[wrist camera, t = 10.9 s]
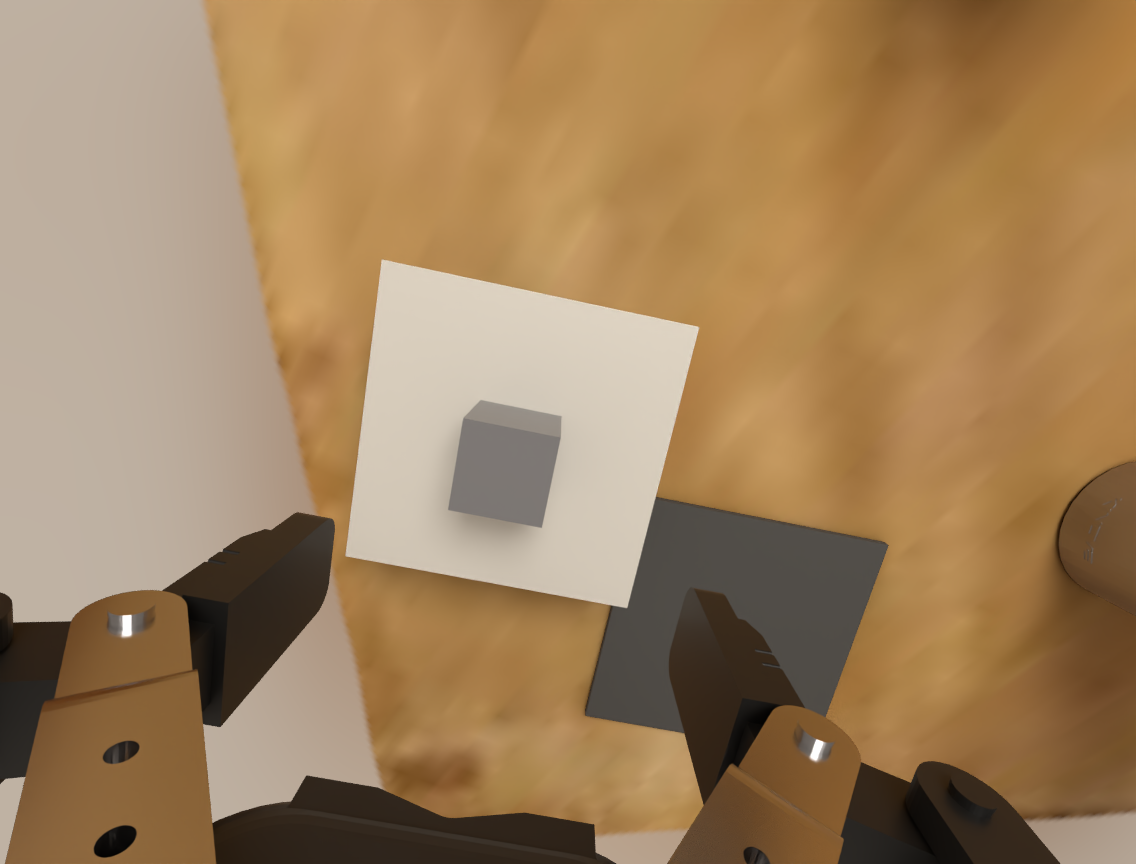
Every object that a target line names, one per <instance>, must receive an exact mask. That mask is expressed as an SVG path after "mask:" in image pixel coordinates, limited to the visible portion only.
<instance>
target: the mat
mask: <svg viewBox="0 0 1136 864" xmlns="http://www.w3.org/2000/svg"><path fill="white" fill-rule="evenodd" d="M888 546H889V545H887V544H886V543H885V542H882V541H876V540H871V539H866V538H861V537H856V536H851V535H846V534H841V533H836V532H831V531H826V530H821V529H816V528H811V527H805V526H800V525H795V524H790V523H785V522H780V521H775V520H770V519H765V518H760V517H755V516H750V515H745V514H739V513H734V512H729V511H724V510H719V509H714V508H709V507H704V506H699V505H694V504H689V503H684V502H679V501H673V500H668V499H663V498H658V497H656V498H655V501H654V505H653V509H652V513H651V517H650V521H649V525H648V529H647V533H646V537H645V540H644V544H643V548H642V552H641V556H640V560H639V564H638V568H637V572H636V576H635V579H634V583H633V587H632V591H631V595H630V599H629V603H628V607H627V608H624V607H618V606H613V605H611V609H610V613H609V617H608V621H607V625H606V629H605V633H604V637H603V641H602V645H601V649H600V653H599V657H598V661H597V665H596V669H595V673H594V677H593V681H592V685H591V689H590V693H589V697H588V701H587V705H586V709H585V716H590V717H595V718H601V719H607V720H613V721H618V722H624V723H630V724H636V725H641V726H647V727H653V728H658V729H664V730H670V731H676V732H681V733H684V730H683V726H682V722H681V719H680V715H679V711H678V707H677V704H676V700H675V696H674V692H673V689H672V685H671V681H670V677H669V655H670V649H671V645H672V641H673V638H674V634H675V630H676V627H677V623H678V620H679V616H680V612H681V609H682V605H683V602H684V598H685V595H686V593H687V591H688V589H689V588H697V589H702V590H707V591H713V592H718V593H723V594H724V595H725V596H726V598H727V599H728V601H729V603H730V605H731V607H732V609H733V610H734V612H735V614H736V616H737V618H738V619H742V620H746V621H747V622H748V623H749V624H750V625H751V626H752V627H753V628H755V629H756V630H757V631H758V632H759V633H760V634H761V635H762V636H763V637H764V639H765V641H766V642H767V644H768V646H769V648H770V649H771V651H772V655H774V656H775V658H776V659H777V661H778V663H779V664H780V669H783V671H784V673H785V675H786V676H787V678H788V680H789V681H790V683H791V685H792V686H793V688H794V690H795V691H796V693H797V695H798V697H799V698H800V700H801V702H802V703H803V705H804V707H805V708H806V709H809V710H811V711H813V712H816V713H818V714H820V715H822V716H824V717H826V714H827V711H828V708H829V706H830V703H831V700H832V698H833V695H834V692H835V689H836V687H837V684H838V681H839V679H840V676H841V673H842V670H843V668H844V665H845V662H846V660H847V657H848V654H849V651H850V649H851V646H852V643H853V641H854V638H855V635H856V632H857V630H858V627H859V624H860V622H861V619H862V616H863V613H864V611H865V608H866V605H867V603H868V600H869V597H870V594H871V592H872V589H873V586H874V584H875V581H876V578H877V575H878V573H879V570H880V567H881V565H882V562H883V559H884V556H885V554H886V551H887V548H888Z"/></svg>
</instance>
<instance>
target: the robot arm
mask: <svg viewBox="0 0 1136 864" xmlns="http://www.w3.org/2000/svg"><path fill="white" fill-rule="evenodd" d="M334 532H335V525H334V521H333V519H330V518H325V517H320V516H315V515H309V514H303V513H295V514H293V515H292V516H290V517H289V518H288V519H286V520H285V521H284V522H282V523H281V524H279V525H278V526H276V527H275V528H274V529H272V530H267V529H264V530H262V531H258V532H255V533H252V534H249V535H246V536H243V537H241V538H239V539H238V540H236V541H235V542H233V543H232V544H230V545H229V546H227V547H226V548H224V549H223V552H218V553H217V554H216V555H214V556H213V557H211V558H210V559H209V560H208V562H204V563H202V564H201V565H199V566H198V567H196V568H195V569H193V570H192V571H191V572H189V573H188V574H186V575H185V576H183V577H182V578H180V579H179V580H177V581H176V582H175V583H173V584H171V585H170V586H169V587H167V588H165V589H164V590H163V591H157V590H141V591H132V592H126V593H120V594H116V595H112V596H109V597H106V598H103V599H101V600H98V601H96V602H94V603H92V604H90V605H88V606H86V607H85V608H83V609H82V610H80V611H79V612H78V613H77V614H76V615H75V616H74V617H73V619H72V621H70V622H19V623H13V611H12V610H13V609H12V600H11V599H10V598H9V597H8V596H7V595H5V594H3V593H0V784H1V783H2V782H3V781H4V780H5V779H8V778H17V777H26V778H25V781H24V785H23V790H22V794H21V798H20V802H19V807H18V811H17V815H16V819H15V823H14V828H13V832H12V836H11V840H10V844H9V849H8V853H7V857H6V862H5V864H616V863H614V862H613V861H611V860H609V859H608V858H606V857H604V856H602V855H600V854H597V853H596V852H595V830H594V824H588V823H582V822H576V821H570V820H564V819H558V818H553V817H547V816H541V815H535V814H529V813H515V814H502V815H490V816H477V817H464V818H446V817H443V816H440V815H438V814H435V813H433V812H431V811H429V810H426V809H424V808H422V807H420V806H418V805H415V804H413V803H411V802H409V801H406V800H404V799H402V798H400V797H398V796H395V795H393V794H391V793H389V792H386V791H384V790H382V789H380V788H376V787H371V786H365V785H359V784H353V783H347V782H341V781H335V780H330V779H324V778H318V777H312V776H306V777H305V779H304V780H303V782H302V784H301V786H300V787H299V789H298V791H297V793H296V794H295V796H294V798H293V800H292V801H291V802H281V803H275V804H270V805H264V806H259V807H256V808H252V809H249V810H245V811H241V812H239V813H236V814H233V815H231V816H228V817H225V818H223V819H220V820H218V821H216V822H214V823H212V815H211V804H210V794H209V783H208V772H207V762H206V752H205V742H204V730H203V724H205V725H211V726H217V727H221V726H222V725H223V723H224V722H225V721H226V720H227V719H228V717H229V716H230V715H231V714H232V713H233V711H234V710H235V709H236V708H237V707H238V706H239V704H240V703H241V702H242V701H243V700H244V698H245V697H246V696H247V695H248V694H249V692H251V690H252V689H253V688H254V687H255V686H256V684H257V683H258V682H259V681H260V680H261V678H262V677H263V676H264V675H265V674H266V673H267V671H268V670H269V669H270V668H271V667H272V665H273V664H274V663H275V662H276V661H277V660H278V659H279V657H280V656H281V655H282V654H283V653H284V651H285V650H286V649H287V648H288V647H289V646H290V644H291V643H292V642H293V641H294V640H295V638H296V637H297V636H298V635H299V634H300V633H301V631H302V630H303V629H304V628H305V626H306V625H307V624H308V623H309V622H310V621H311V620H312V618H313V617H314V616H315V615H316V614H317V612H318V611H319V609H320V608H321V606H322V604H323V601H324V599H325V596H326V593H327V590H328V585H329V577H330V568H331V559H332V550H333V541H334ZM1059 551H1060V558H1061V561H1062V563H1063V566H1064V568H1065V570H1066V572H1067V573H1068V574H1069V575H1070V577H1071V578H1072V579H1073V580H1074V581H1075V582H1076V583H1078V584H1079V585H1080V586H1081V587H1083V588H1084V589H1086V590H1088V591H1090V592H1092V593H1094V594H1096V595H1097V596H1099V597H1101V598H1103V599H1105V600H1107V601H1109V602H1111V603H1112V604H1114V605H1116V606H1118V607H1120V608H1122V609H1124V610H1126V611H1127V612H1129V613H1131V614H1133V615H1135V616H1136V462H1131V463H1126V464H1124V465H1121V466H1119V467H1116V468H1113V469H1111V470H1109V471H1108V472H1106V473H1104V474H1103V475H1101V476H1099V477H1098V478H1096V479H1095V480H1094V481H1093V482H1091V483H1090V484H1089V485H1088V486H1087V487H1086V488H1084V489H1083V490H1082V492H1081V493H1080V494H1079V495H1078V496H1077V498H1076V499H1075V500H1074V501H1073V502H1072V504H1071V506H1070V508H1069V510H1068V511H1067V513H1066V515H1065V517H1064V520H1063V523H1062V526H1061V529H1060V536H1059ZM669 677H670V681H671V685H672V689H673V692H674V696H675V700H676V704H677V707H678V711H679V715H680V719H681V722H682V726H683V730H684V733H685V737H686V741H687V745H688V748H689V752H690V756H691V759H692V763H693V767H694V771H695V774H696V778H697V782H698V785H699V789H700V793H701V797H702V800H703V804H704V806H703V808H702V809H701V811H700V812H699V814H698V816H697V817H696V819H695V820H694V822H693V824H692V825H691V827H690V828H689V830H688V831H687V833H686V835H685V836H684V838H683V839H682V841H681V843H680V844H679V846H678V847H677V849H676V850H675V852H674V854H673V855H672V857H671V858H670V860H669V862H668V863H667V864H1060V863H1059V862H1058V860H1057V859H1056V858H1055V857H1054V856H1053V854H1052V853H1051V852H1050V851H1049V850H1048V848H1047V847H1046V846H1045V845H1044V844H1043V842H1042V841H1041V840H1040V839H1039V838H1038V836H1037V835H1036V834H1035V833H1034V832H1033V830H1032V829H1031V828H1030V827H1029V826H1028V825H1027V823H1026V822H1025V821H1024V820H1023V819H1022V817H1021V816H1020V815H1019V814H1018V813H1017V811H1016V810H1015V809H1014V808H1013V807H1012V806H1011V805H1010V804H1009V803H1008V802H1007V801H1006V800H1005V799H1004V798H1003V797H1002V796H1001V795H999V794H998V793H997V792H996V791H995V790H993V789H992V788H991V787H989V786H988V785H986V784H985V783H984V782H982V781H980V780H979V779H977V778H976V777H974V776H972V775H970V774H969V773H967V772H965V771H963V770H961V769H958V768H956V767H953V766H951V765H948V764H944V763H941V762H934V761H928V762H923V763H921V764H920V765H919V766H918V768H917V770H916V772H915V775H914V777H913V779H912V782H911V783H910V782H907V781H905V780H903V779H900V778H898V777H895V776H893V775H890V774H888V773H885V772H883V771H881V770H878V769H876V768H873V767H871V766H869V765H866V764H864V763H862V762H861V757H860V753H859V751H858V749H857V747H856V745H855V744H854V742H853V741H852V740H851V738H850V737H849V736H848V735H847V734H846V733H845V732H844V731H843V730H842V729H841V728H839V727H838V726H837V725H836V724H834V723H833V722H831V721H830V720H828V719H827V718H825V717H824V716H822V715H820V714H818V713H816V712H813V711H811V710H809V709H806V708H805V707H804V705H803V703H802V702H801V700H800V698H799V697H798V695H797V693H796V691H795V690H794V688H793V686H792V685H791V683H790V681H789V680H788V678H787V676H786V675H785V673H784V671H783V669H780V664H779V663H778V661H777V659H776V658H775V656H774V655H772V651H771V649H770V648H769V646H768V644H767V642H766V641H765V639H764V637H763V636H762V635H761V634H760V633H759V632H758V631H757V630H756V629H755V628H753V627H752V626H751V625H750V624H749V623H748V622H747V621H746V620H742V619H738V618H737V616H736V614H735V612H734V610H733V609H732V607H731V605H730V603H729V601H728V599H727V598H726V596H725V595H724V594H723V593H718V592H713V591H707V590H702V589H697V588H689V589H688V591H687V593H686V595H685V598H684V602H683V605H682V609H681V612H680V616H679V620H678V623H677V627H676V630H675V634H674V638H673V641H672V645H671V649H670V655H669Z"/></svg>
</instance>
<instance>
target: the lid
mask: <svg viewBox="0 0 1136 864" xmlns="http://www.w3.org/2000/svg"><path fill="white" fill-rule="evenodd" d="M698 330H699V327H696V326H692V325H687V324H682V323H678V322H673V321H668V320H664V319H659V318H654V317H650V316H645V315H640V314H635V313H631V312H626V311H621V310H617V309H612V308H607V307H603V306H598V305H593V304H588V303H584V302H579V301H574V300H570V299H565V298H560V297H556V296H551V295H546V294H542V293H537V292H532V291H527V290H523V289H518V288H513V287H509V286H504V285H499V284H495V283H490V282H485V281H480V280H476V279H471V278H466V277H462V276H457V275H452V274H448V273H443V272H438V271H433V270H429V269H424V268H419V267H415V266H410V265H405V264H401V263H396V262H391V261H387V260H382V263H381V272H380V280H379V288H378V296H377V304H376V312H375V320H374V329H373V337H372V345H371V353H370V361H369V369H368V377H367V385H366V394H365V402H364V410H363V418H362V426H361V434H360V442H359V451H358V459H357V467H356V475H355V483H354V491H353V499H352V508H351V516H350V524H349V532H348V540H347V548H346V556H347V557H353V558H358V559H364V560H369V561H374V562H380V563H385V564H391V565H396V566H402V567H407V568H412V569H418V570H423V571H429V572H434V573H439V574H445V575H450V576H456V577H461V578H467V579H472V580H477V581H483V582H488V583H494V584H499V585H504V586H510V587H515V588H521V589H526V590H532V591H537V592H542V593H548V594H553V595H559V596H564V597H569V598H575V599H580V600H586V601H591V602H597V603H602V604H607V605H613V606H618V607H624V608H627V607H628V603H629V599H630V595H631V591H632V587H633V583H634V579H635V576H636V572H637V568H638V564H639V560H640V556H641V552H642V548H643V544H644V540H645V537H646V533H647V529H648V525H649V521H650V517H651V513H652V509H653V505H654V501H655V498H656V494H657V490H658V486H659V482H660V478H661V474H662V470H663V466H664V462H665V459H666V455H667V451H668V447H669V443H670V439H671V435H672V431H673V427H674V423H675V420H676V416H677V412H678V408H679V404H680V400H681V396H682V392H683V388H684V384H685V381H686V377H687V373H688V369H689V365H690V361H691V357H692V353H693V349H694V345H695V341H696V338H697V334H698Z"/></svg>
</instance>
